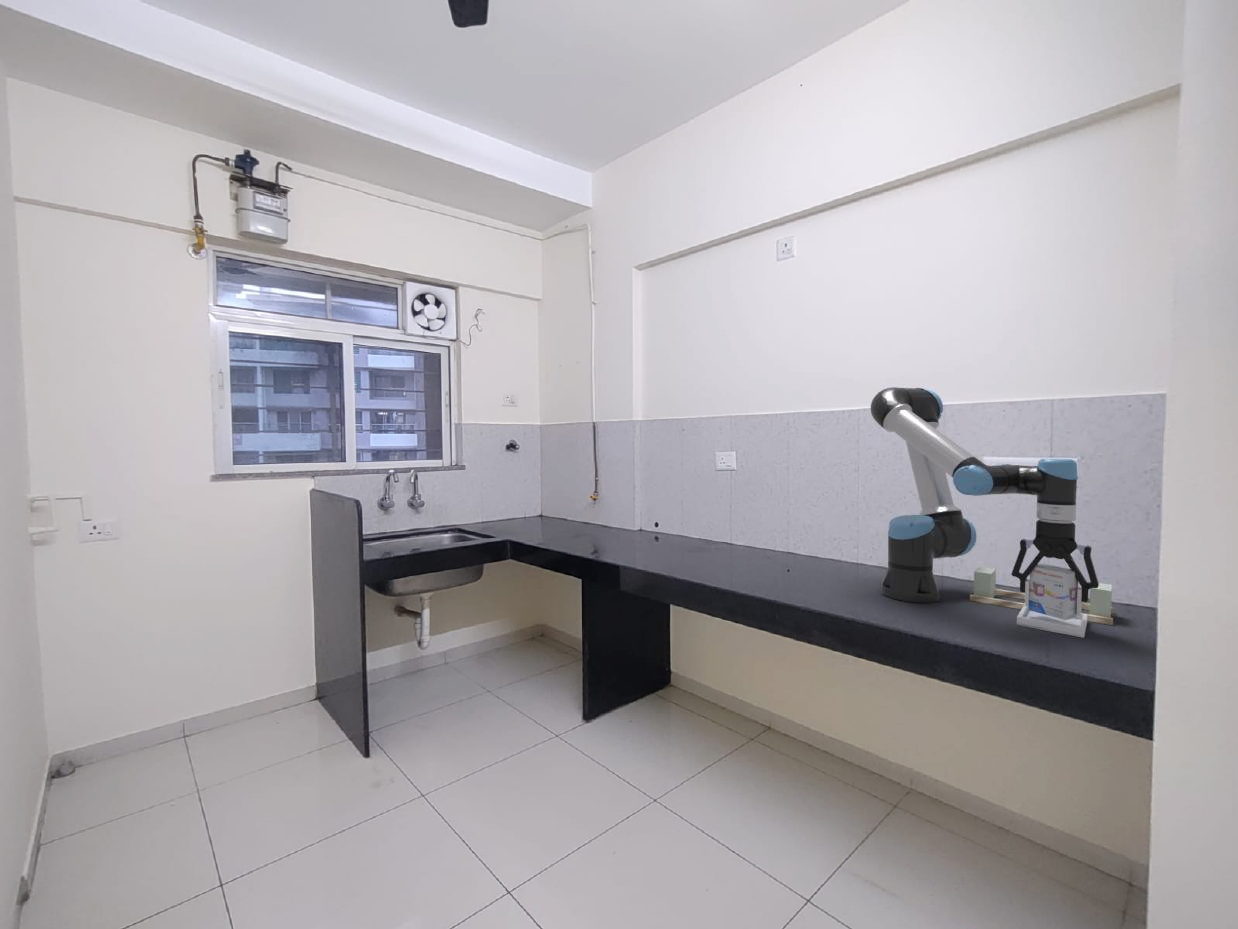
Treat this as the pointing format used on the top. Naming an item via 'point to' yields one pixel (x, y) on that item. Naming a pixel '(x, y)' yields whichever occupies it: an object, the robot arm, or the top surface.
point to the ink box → (1053, 591)
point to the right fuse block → (1101, 600)
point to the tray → (1052, 622)
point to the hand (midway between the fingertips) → (1052, 609)
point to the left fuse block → (985, 582)
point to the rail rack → (1020, 605)
